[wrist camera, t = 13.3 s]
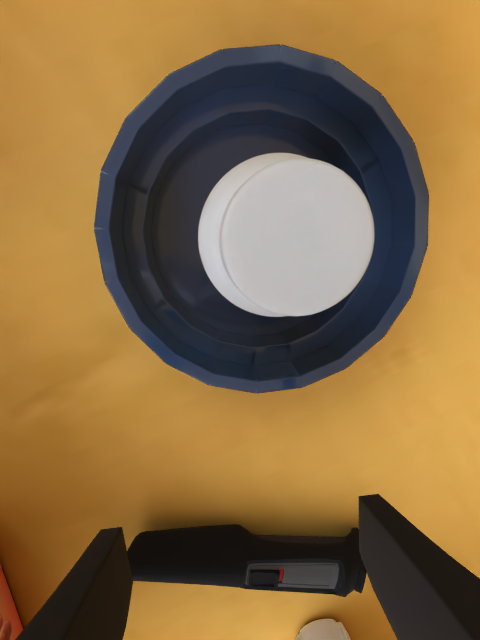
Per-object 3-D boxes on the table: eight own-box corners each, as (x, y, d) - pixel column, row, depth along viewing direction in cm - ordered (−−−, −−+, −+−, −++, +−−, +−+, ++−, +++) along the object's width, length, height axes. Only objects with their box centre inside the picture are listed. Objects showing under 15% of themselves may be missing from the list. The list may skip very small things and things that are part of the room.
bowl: (79, 285, 19) (38, 300, 14) (204, 31, 16) (200, -42, 12) (294, 396, 21) (315, 439, 17) (428, 189, 19) (493, 175, 14)
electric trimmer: (132, 505, 22) (118, 549, 19) (367, 522, 24) (390, 565, 21) (128, 554, 23) (114, 603, 20) (356, 568, 24) (375, 616, 21)
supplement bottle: (181, 233, 18) (145, 232, 9) (259, 158, 17) (310, 69, 8) (251, 309, 19) (288, 379, 10) (327, 240, 19) (440, 245, 9)
